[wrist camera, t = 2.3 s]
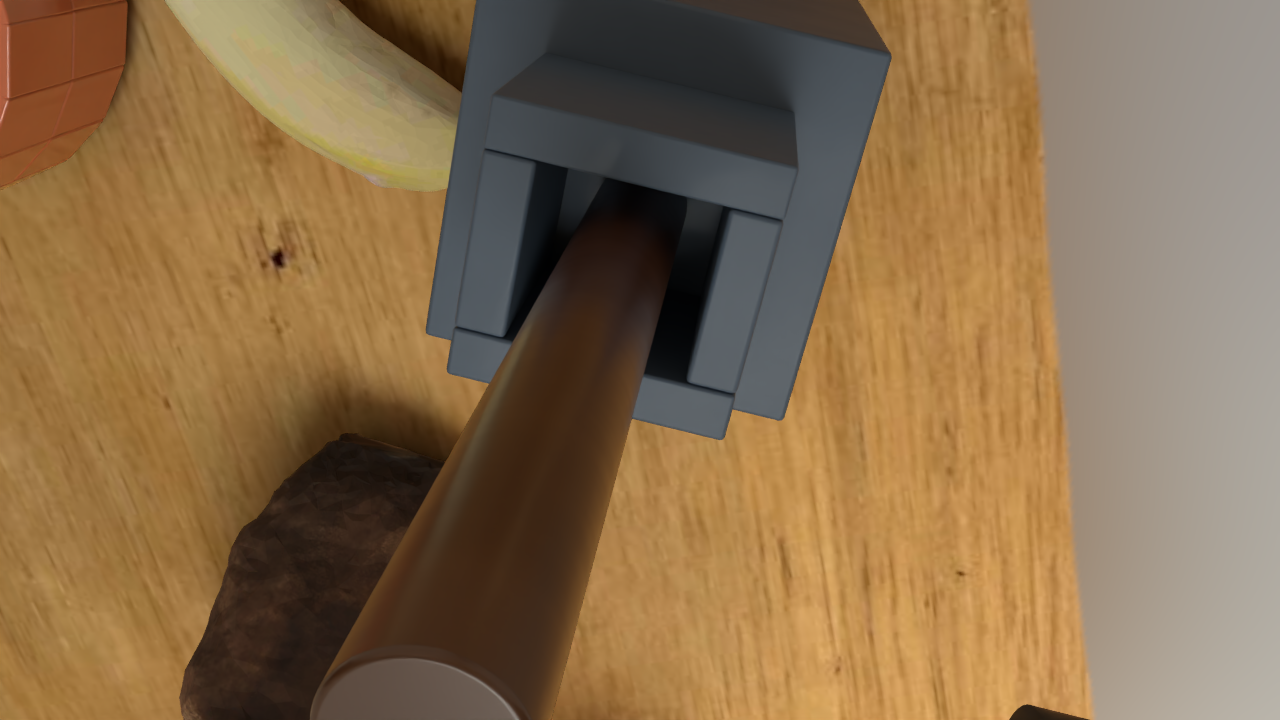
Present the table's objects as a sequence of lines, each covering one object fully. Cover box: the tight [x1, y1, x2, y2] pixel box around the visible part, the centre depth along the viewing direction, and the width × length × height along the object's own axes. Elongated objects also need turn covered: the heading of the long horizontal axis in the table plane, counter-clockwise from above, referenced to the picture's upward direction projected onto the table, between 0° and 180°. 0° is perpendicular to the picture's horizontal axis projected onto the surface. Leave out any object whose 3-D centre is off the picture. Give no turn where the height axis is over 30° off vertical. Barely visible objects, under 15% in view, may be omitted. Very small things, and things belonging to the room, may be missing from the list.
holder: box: [426, 0, 891, 440], centre depth 24 cm, size 7×7×16 cm
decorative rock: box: [179, 433, 445, 720], centre depth 34 cm, size 12×6×11 cm, turn 154°
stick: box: [310, 178, 687, 720], centre depth 14 cm, size 2×2×14 cm
